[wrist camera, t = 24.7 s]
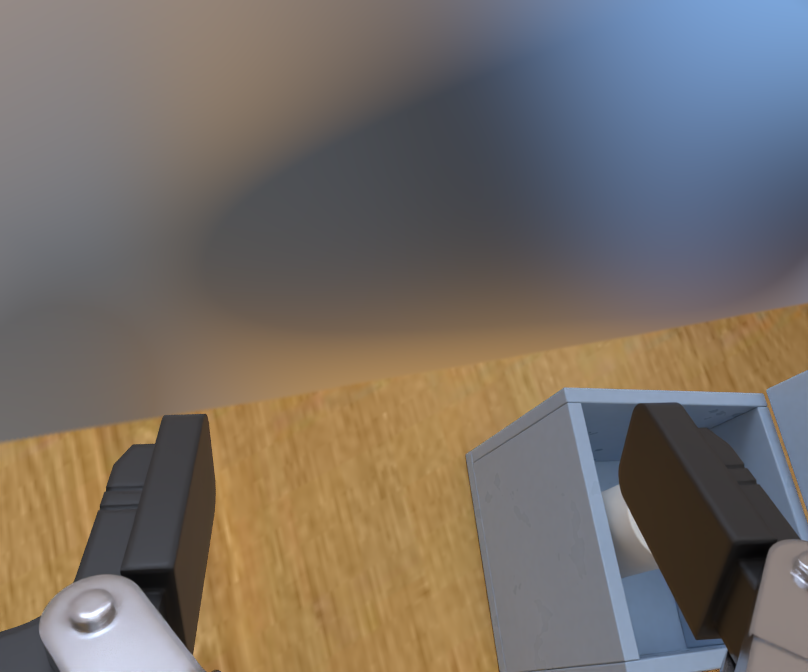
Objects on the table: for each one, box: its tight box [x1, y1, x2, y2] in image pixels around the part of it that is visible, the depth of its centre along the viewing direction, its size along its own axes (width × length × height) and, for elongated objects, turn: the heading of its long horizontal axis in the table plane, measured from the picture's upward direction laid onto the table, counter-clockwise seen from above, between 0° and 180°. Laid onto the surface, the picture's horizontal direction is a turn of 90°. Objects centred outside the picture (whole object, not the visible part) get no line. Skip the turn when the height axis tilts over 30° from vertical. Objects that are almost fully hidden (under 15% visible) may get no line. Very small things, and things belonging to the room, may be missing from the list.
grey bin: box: [466, 388, 808, 672], centre depth 35 cm, size 11×11×10 cm
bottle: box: [601, 485, 659, 578], centre depth 32 cm, size 4×4×12 cm
